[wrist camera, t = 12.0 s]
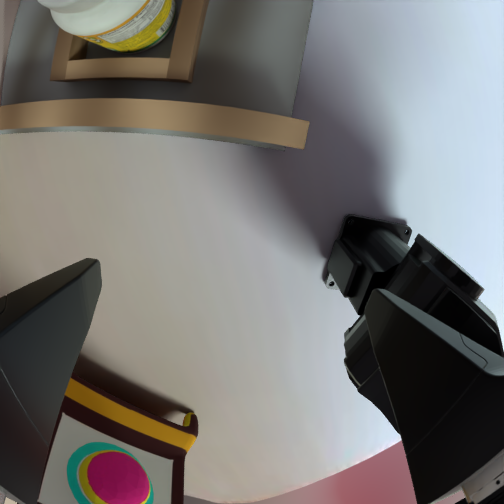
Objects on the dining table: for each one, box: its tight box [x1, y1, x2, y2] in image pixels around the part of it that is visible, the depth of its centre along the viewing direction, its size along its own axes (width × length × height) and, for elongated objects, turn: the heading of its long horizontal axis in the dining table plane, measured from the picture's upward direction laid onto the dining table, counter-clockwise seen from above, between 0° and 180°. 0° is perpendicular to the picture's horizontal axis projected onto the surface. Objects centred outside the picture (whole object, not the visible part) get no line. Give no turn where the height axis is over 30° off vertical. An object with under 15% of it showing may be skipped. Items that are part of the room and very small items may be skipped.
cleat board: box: [0, 0, 313, 151], centre depth 13 cm, size 22×14×6 cm, turn 80°
